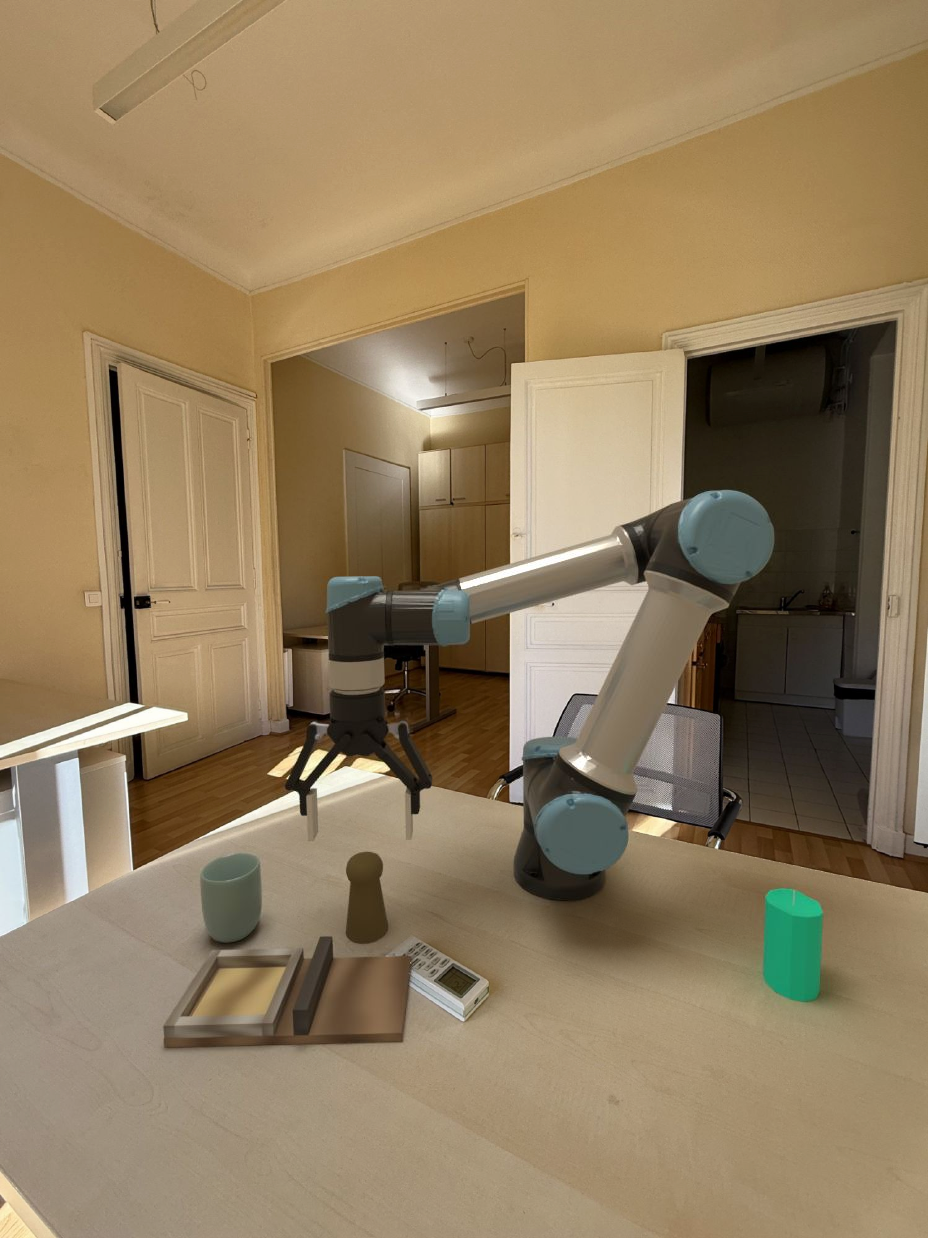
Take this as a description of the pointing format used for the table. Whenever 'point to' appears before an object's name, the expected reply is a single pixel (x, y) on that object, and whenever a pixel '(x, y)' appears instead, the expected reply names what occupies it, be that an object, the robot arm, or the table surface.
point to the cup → (231, 896)
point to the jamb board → (291, 999)
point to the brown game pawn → (365, 899)
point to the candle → (792, 944)
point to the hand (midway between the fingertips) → (361, 836)
